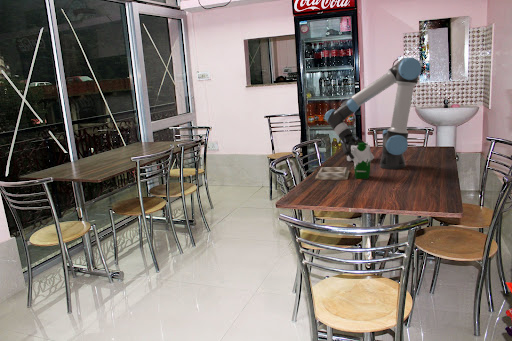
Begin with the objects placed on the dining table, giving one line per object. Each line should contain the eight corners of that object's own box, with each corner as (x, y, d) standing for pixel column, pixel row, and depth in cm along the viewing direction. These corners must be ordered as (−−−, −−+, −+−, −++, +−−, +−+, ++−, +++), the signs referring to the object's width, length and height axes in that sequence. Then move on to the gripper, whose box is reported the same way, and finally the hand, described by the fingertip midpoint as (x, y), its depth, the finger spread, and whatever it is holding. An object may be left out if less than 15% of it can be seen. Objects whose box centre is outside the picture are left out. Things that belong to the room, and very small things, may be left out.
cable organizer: (361, 163, 282) (361, 145, 279) (346, 162, 287) (345, 145, 285) (368, 158, 294) (368, 141, 292) (353, 157, 300) (353, 141, 297)
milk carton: (353, 179, 242) (353, 143, 237) (355, 175, 250) (355, 141, 246) (369, 179, 239) (369, 143, 235) (371, 175, 247) (370, 141, 243)
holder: (349, 172, 258) (349, 166, 257) (347, 179, 241) (347, 173, 240) (319, 172, 263) (319, 166, 262) (315, 179, 246) (314, 173, 245)
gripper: (353, 133, 259) (374, 161, 251) (325, 139, 244) (347, 168, 236) (360, 125, 254) (382, 153, 246) (332, 130, 239) (355, 160, 230)
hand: (365, 160), depth 241 cm, fingers open, 13 cm apart
